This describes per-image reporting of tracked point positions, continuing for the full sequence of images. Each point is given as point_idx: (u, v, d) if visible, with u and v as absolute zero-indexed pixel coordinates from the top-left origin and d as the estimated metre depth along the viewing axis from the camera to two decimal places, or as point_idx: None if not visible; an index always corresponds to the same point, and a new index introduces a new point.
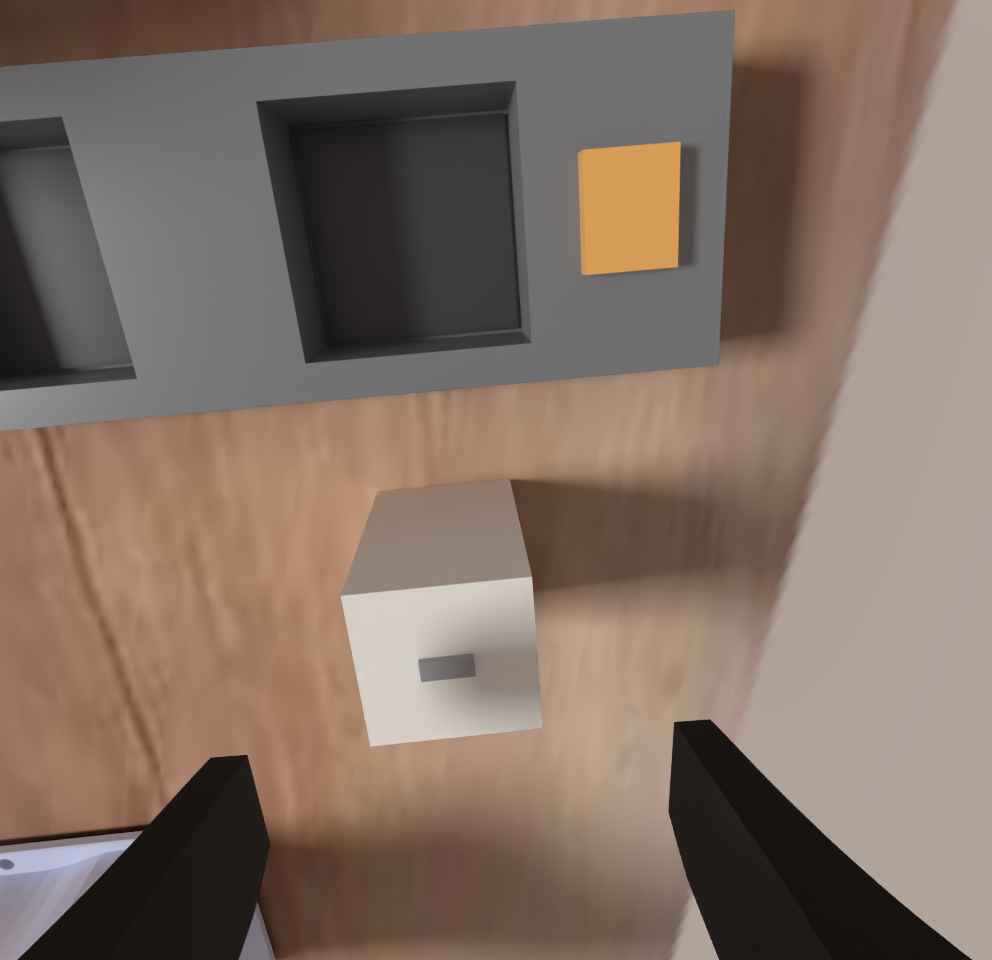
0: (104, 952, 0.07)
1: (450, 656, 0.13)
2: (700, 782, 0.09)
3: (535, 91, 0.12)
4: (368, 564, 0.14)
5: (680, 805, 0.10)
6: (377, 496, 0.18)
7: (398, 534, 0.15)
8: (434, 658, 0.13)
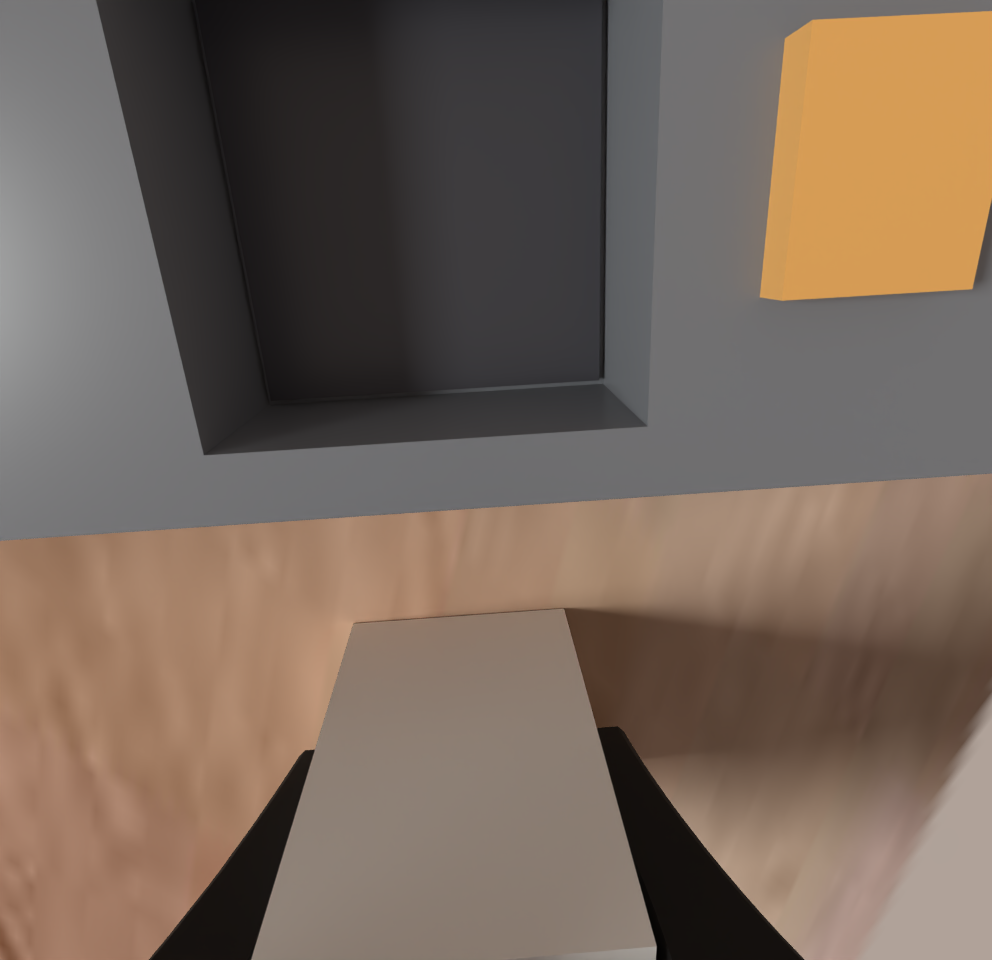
0: (244, 941, 0.07)
1: None
2: None
3: None
4: (316, 852, 0.07)
5: None
6: (352, 635, 0.11)
7: (379, 751, 0.08)
8: None
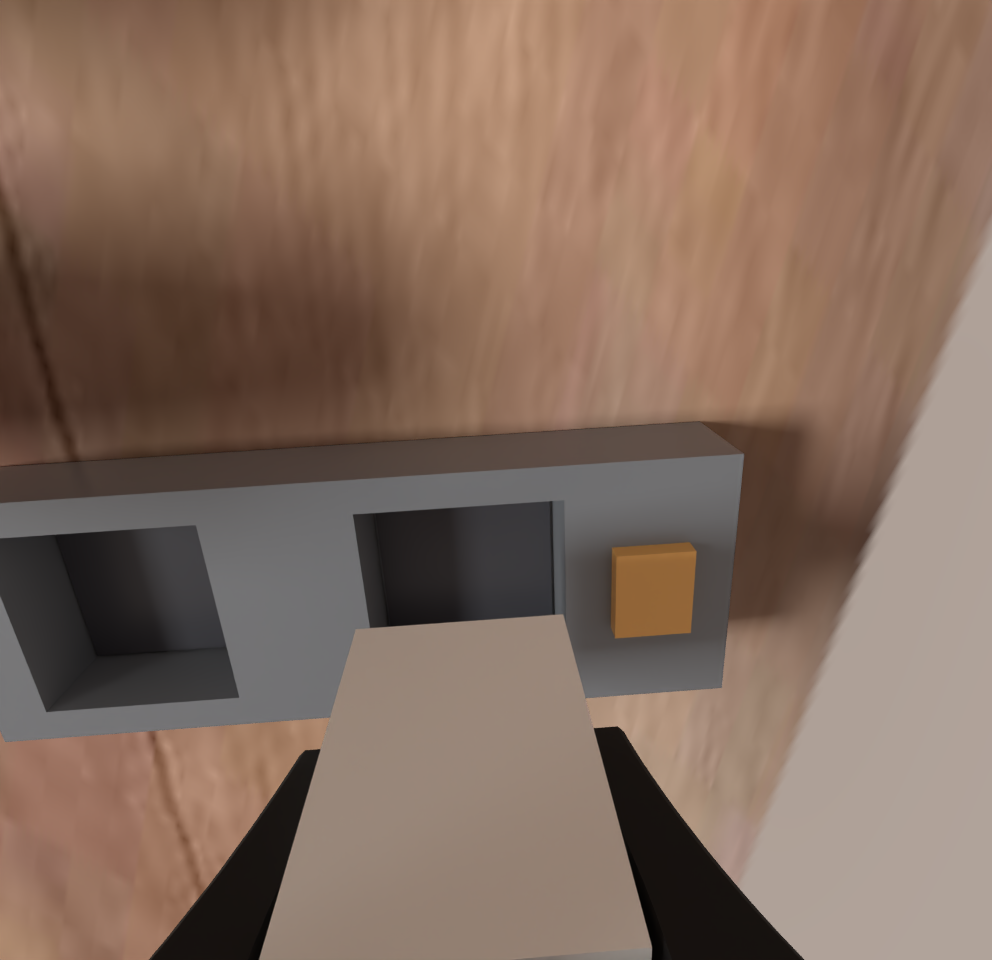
0: (243, 941, 0.07)
1: None
2: None
3: (579, 507, 0.15)
4: (321, 856, 0.07)
5: None
6: (354, 641, 0.11)
7: (382, 757, 0.09)
8: None
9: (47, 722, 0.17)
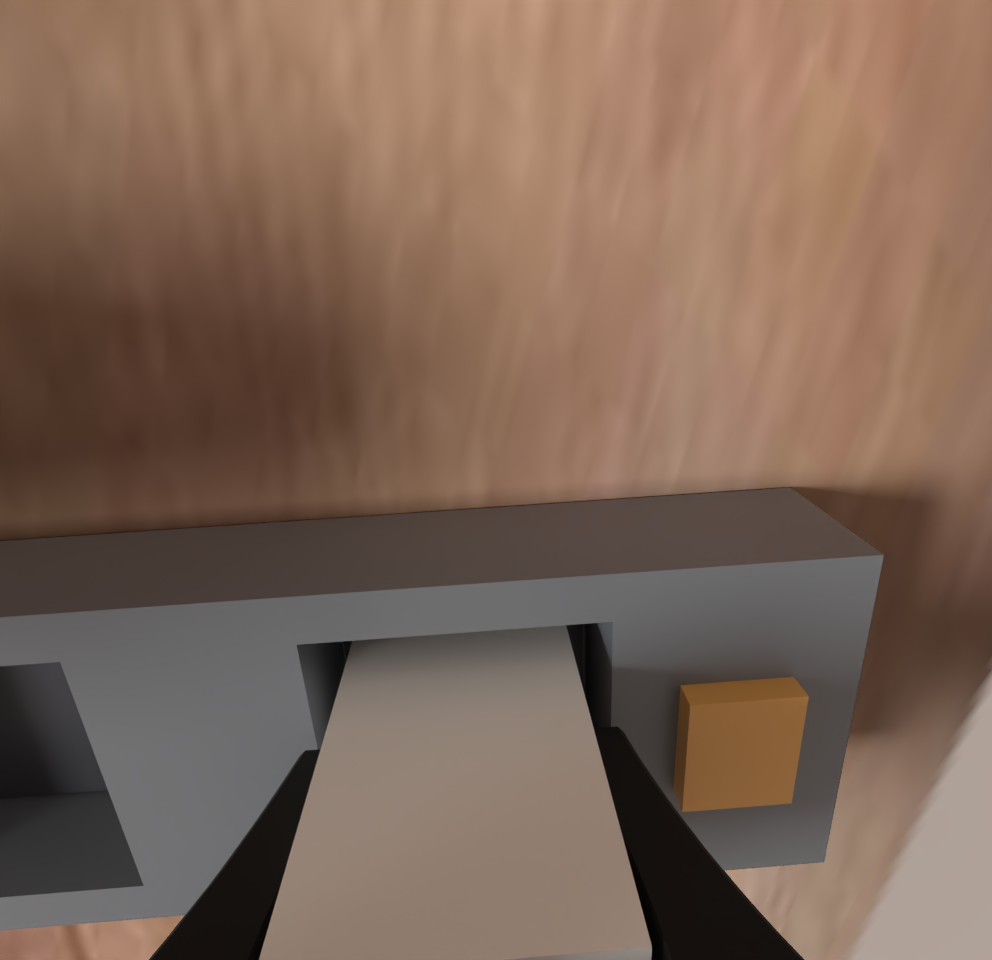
0: (244, 940, 0.07)
1: None
2: None
3: (635, 631, 0.10)
4: (321, 855, 0.07)
5: None
6: (354, 641, 0.11)
7: (382, 755, 0.09)
8: None
9: None
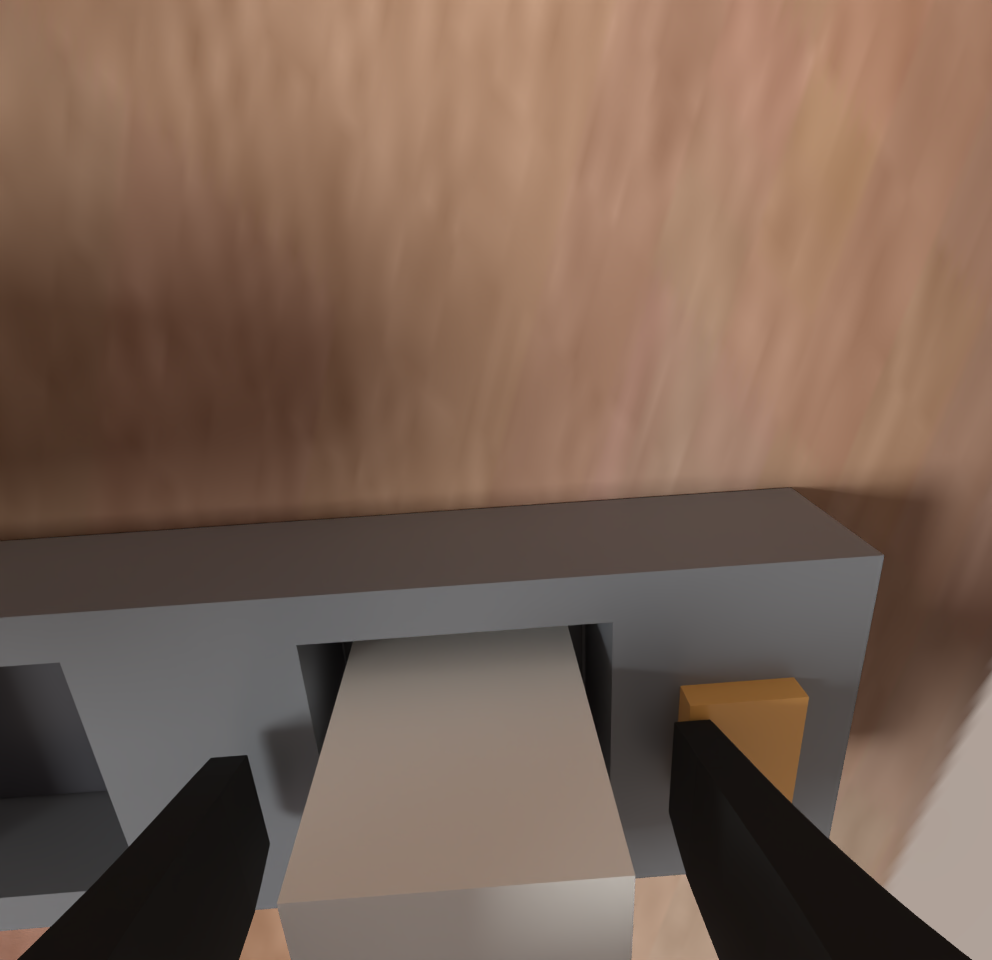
0: (104, 953, 0.07)
1: None
2: (700, 782, 0.09)
3: (635, 631, 0.10)
4: (335, 801, 0.08)
5: (680, 805, 0.10)
6: None
7: (390, 717, 0.09)
8: None
9: None
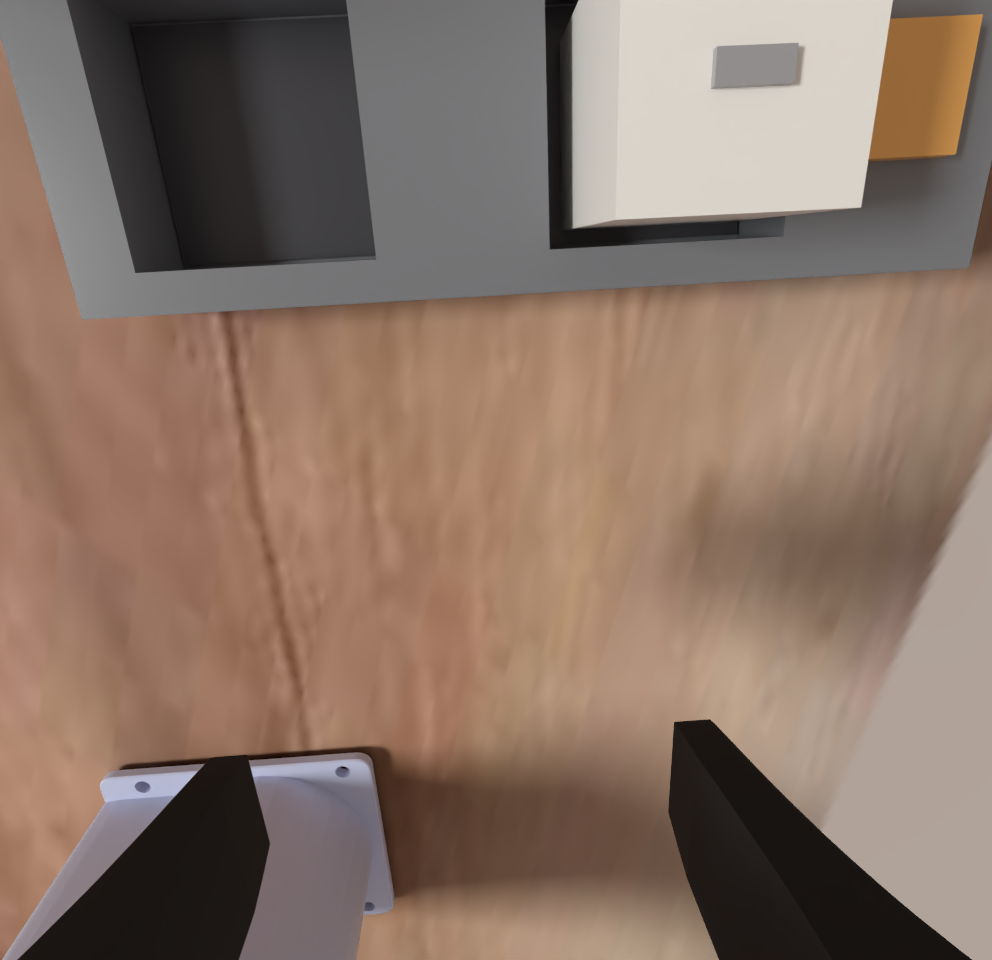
0: (104, 952, 0.07)
1: (760, 46, 0.09)
2: (700, 782, 0.09)
3: None
4: None
5: (680, 805, 0.10)
6: None
7: None
8: (738, 46, 0.09)
9: (136, 290, 0.13)
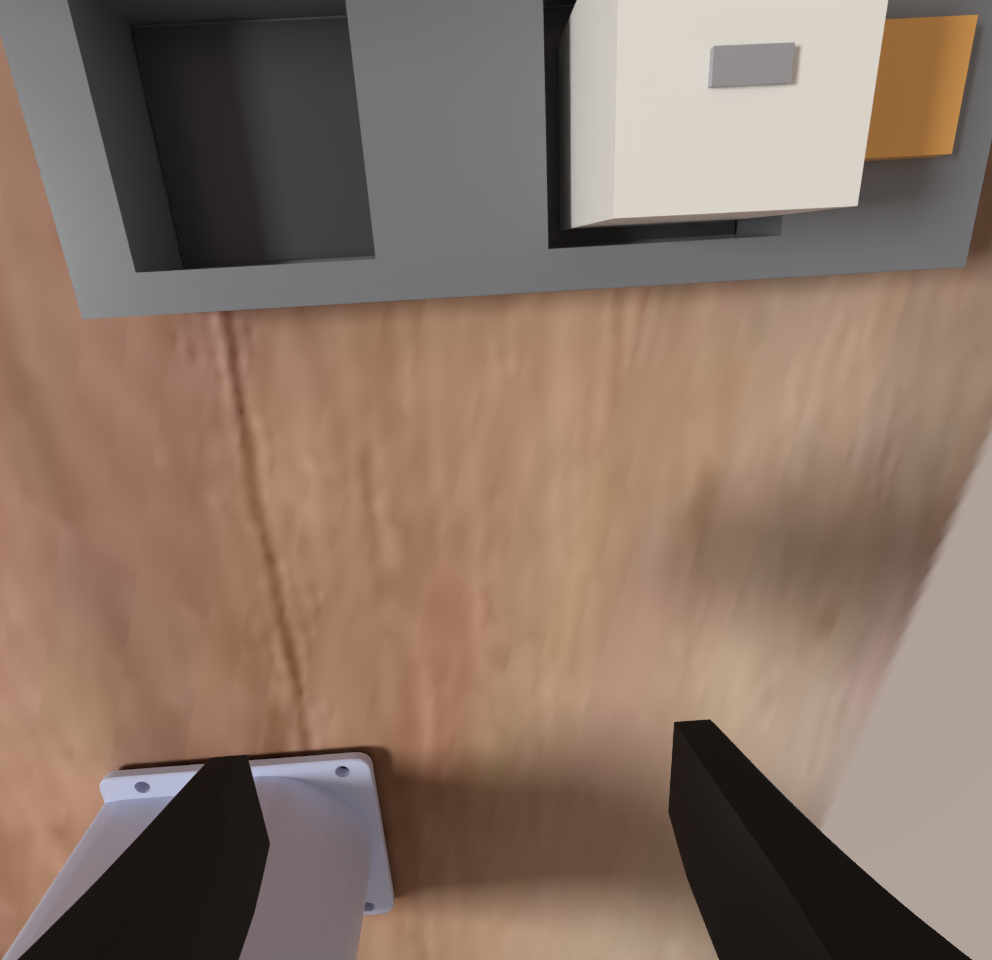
0: (104, 953, 0.07)
1: (756, 46, 0.09)
2: (700, 782, 0.09)
3: None
4: None
5: (680, 805, 0.10)
6: None
7: None
8: (734, 46, 0.09)
9: (136, 290, 0.13)
